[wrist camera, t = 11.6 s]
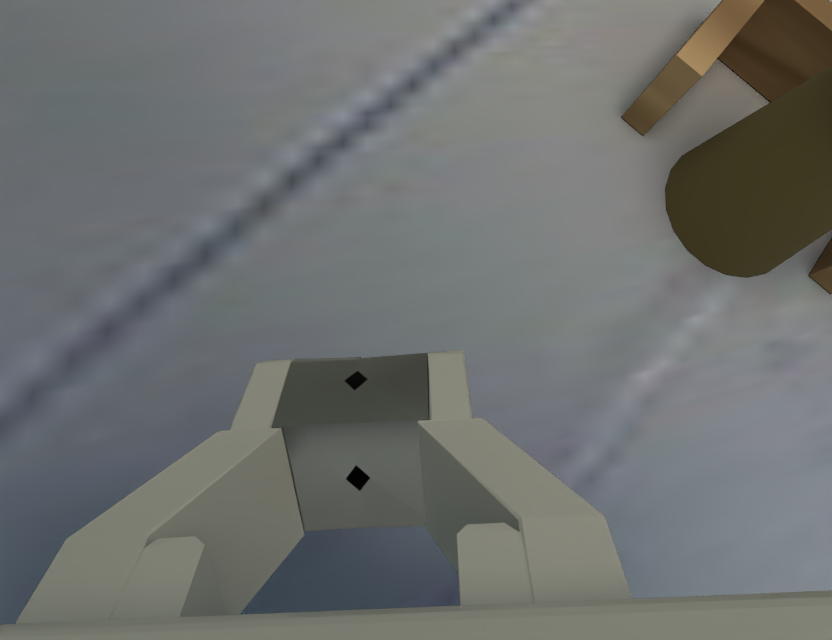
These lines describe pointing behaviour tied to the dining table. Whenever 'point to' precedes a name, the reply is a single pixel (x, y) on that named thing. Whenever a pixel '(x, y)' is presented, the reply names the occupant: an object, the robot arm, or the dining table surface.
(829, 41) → the catch
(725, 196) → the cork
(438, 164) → the dining table surface
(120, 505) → the robot arm
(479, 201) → the dining table surface
